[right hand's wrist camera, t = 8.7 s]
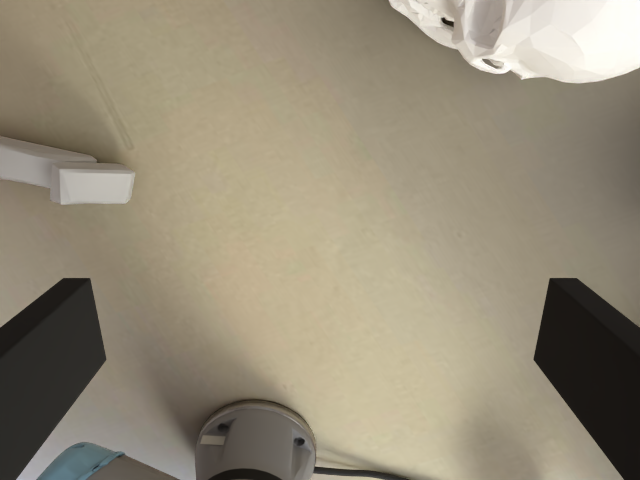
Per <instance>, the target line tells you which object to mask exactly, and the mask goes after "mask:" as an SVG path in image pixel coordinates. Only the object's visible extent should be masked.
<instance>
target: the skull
mask: <svg viewBox="0 0 640 480" xmlns="http://www.w3.org/2000/svg"><path fill="white" fill-rule="evenodd" d="M389 2H390V5H391V7H393V8H394V9H396V10H397V11H399V12H400V13H402V14H403V15H405V16H406V17H408V18H409V19H410V20H411V21H412V22H413V23H414V24H415V25H417V26H418V27H419V28H420V29H421V30H422V31H423V32H424V33H425V34H426V35H428V36H429V37H431V38H432V39H433V40H435V41H436V42H438V43H440V44H442V45H444V46H447V47H450V48H453V49H458V50H459V52H460V53H461V55H462V56H463V58H464V59H465V60H466V61H467V62H468V63H469V64H470V65H472V66H474V67H475V68H477V69H479V70H482V71H486V72H490V73H494V74H504V73H506V72H508V71H509V70H511V71H512V72H514V73H515V74H516V75H517V76H518V77H519V78H521V80H522V79H527V78H533V77H549V78H552V79H555V80H559V81H562V82H568V83H586V82H595V81H602V80H606V79H609V78H613V77H616V76H619V75H623V74H626V73H628V72H631V71H633V70H635V69H637V68H639V67H640V0H389ZM443 17H444V18H445V19H446V20H449V21H454V27H452V26H450V25H447V24H444V23H443V22H442V18H443ZM482 59H488V60H489V61H491V62H492V63H493V64H494V65H497V66H500V68H497V69H495V68H493V67H491V66H489V65H487V64H485V63H484V62H483V60H482Z"/></svg>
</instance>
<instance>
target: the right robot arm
mask: <svg viewBox="0 0 640 480" xmlns="http://www.w3.org/2000/svg"><path fill="white" fill-rule="evenodd" d="M105 361H106V355H105V350H104V345H103V340H102V335H101V330H100V325H99V320H98V315H97V310H96V305H95V300H94V295H93V290H92V285H91V280H90V278H63V279H62V280H60V281H59V282H58V283H57V284H55V285H54V286H53V287H52V288H50V289H49V290H48V291H46V292H45V293H44V294H43V295H41V296H40V297H39V298H38V299H36V300H35V301H34V302H32V303H31V304H30V305H29V306H27V307H26V308H25V309H24V310H22V311H21V312H20V313H18V314H17V315H16V316H15V317H13V318H12V319H11V320H10V321H8V322H7V323H6V324H4V325H3V326H2V327H1V328H0V480H16V479H17V478H18V476H19V475H20V474H21V472H22V471H23V470H24V468H25V467H26V466H27V464H28V463H29V462H30V460H31V459H32V458H33V456H34V455H35V454H36V452H37V451H38V450H39V448H40V447H41V446H42V444H43V443H44V442H45V440H46V439H47V438H48V436H49V435H50V434H51V432H52V431H53V430H54V428H55V427H56V426H57V424H58V423H59V422H60V421H61V419H62V418H63V417H64V415H65V414H66V413H67V411H68V410H69V409H70V407H71V406H72V405H73V403H74V402H75V401H76V399H77V398H78V397H79V395H80V394H81V393H82V391H83V390H84V389H85V387H86V386H87V385H88V383H89V382H90V381H91V379H92V378H93V377H94V375H95V374H96V373H97V371H98V370H99V369H100V367H101V366H102V365H103V364H104V362H105ZM534 361H535V362H536V364H537V365H538V366H539V367H540V369H541V370H542V371H543V373H544V374H545V375H546V377H547V378H548V379H549V381H550V382H551V383H552V385H553V386H554V387H555V389H556V390H557V391H558V393H559V394H560V395H561V397H562V398H563V399H564V401H565V402H566V403H567V405H568V406H569V407H570V409H571V410H572V411H573V413H574V414H575V415H576V417H577V418H578V419H579V421H580V422H581V423H582V424H583V426H584V427H585V428H586V430H587V431H588V432H589V434H590V435H591V436H592V438H593V439H594V440H595V442H596V443H597V444H598V446H599V447H600V448H601V450H602V451H603V452H604V454H605V455H606V456H607V458H608V459H609V460H610V462H611V463H612V464H613V466H614V467H615V468H616V470H617V471H618V472H619V474H620V475H621V476H622V478H623V479H624V480H640V328H639V327H638V326H637V325H636V324H634V323H633V322H632V321H630V320H629V319H628V318H627V317H625V316H624V315H623V314H622V313H620V312H619V311H618V310H616V309H615V308H614V307H613V306H611V305H610V304H609V303H608V302H606V301H605V300H604V299H602V298H601V297H600V296H599V295H597V294H596V293H595V292H594V291H592V290H591V289H590V288H588V287H587V286H586V285H585V284H583V283H582V282H581V281H580V280H578V279H577V278H550V280H549V285H548V290H547V295H546V300H545V305H544V310H543V315H542V320H541V325H540V330H539V335H538V340H537V345H536V350H535V355H534ZM315 462H316V443H315V438H314V435H313V433H312V431H311V429H310V427H309V426H308V424H307V423H306V422H305V421H304V420H303V419H302V418H301V417H300V416H299V415H298V414H296V413H295V412H294V411H292V410H290V409H288V408H286V407H284V406H282V405H279V404H276V403H272V402H268V401H260V400H248V401H241V402H236V403H233V404H230V405H227V406H225V407H223V408H221V409H219V410H218V411H216V412H215V413H214V414H212V415H211V416H210V417H209V418H208V419H207V421H206V422H205V423H204V425H203V427H202V429H201V431H200V434H199V437H198V440H197V443H196V449H195V467H196V480H310V479H311V476H312V474H313V473H317V474H328V475H340V476H363V477H373V478H379V479H385V480H410V479H406V478H403V477H399V476H395V475H391V474H387V473H382V472H376V471H369V470H347V469H334V468H323V467H314V466H315ZM37 480H179V479H177V478H175V477H173V476H170V475H168V474H166V473H164V472H161V471H159V470H157V469H155V468H153V467H150V466H148V465H146V464H144V463H141V462H139V461H137V460H135V459H132V458H130V457H128V456H126V455H125V453H124V452H114V451H111V450H109V449H106V448H103V447H101V446H98V445H95V444H93V443H88V442H82V443H78V444H75V445H73V446H71V447H69V448H68V449H66V450H65V451H64V452H62V453H61V454H60V455H59V456H58V457H57V458H56V459H55V460H54V461H53V462H52V463H51V464H50V465H49V466H48V467H47V468H46V469H45V471H44V472H43V473H42V474H41V475H40V476H39V477H38V478H37Z"/></svg>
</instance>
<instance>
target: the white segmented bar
mask: <svg viewBox="0 0 640 480" xmlns="http://www.w3.org/2000/svg"><path fill="white" fill-rule="evenodd" d="M134 178H135V172H134V171H133V170H131V169H130V168H128V167H126V166H125V165H122V164H118V163H97V160H96V159H95V158H94V157H92V156H91V155H87V154H82V153H77V152H73V151H68V150H63V149H59V148H54V147H49V146H44V145H40V144H35V143H30V142H26V141H21V140H16V139H12V138H7V137H2V136H0V179H4V180H11V181H16V182H21V183H26V184H31V185H36V186H41V187H46V188H50V189H51V192H50V201H53V202H56V203H59V204H62V205H65V204H86V203H93V204H125V203H127V202H128V201H129V200H130V199H131V195H132V189H133V184H134Z"/></svg>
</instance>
